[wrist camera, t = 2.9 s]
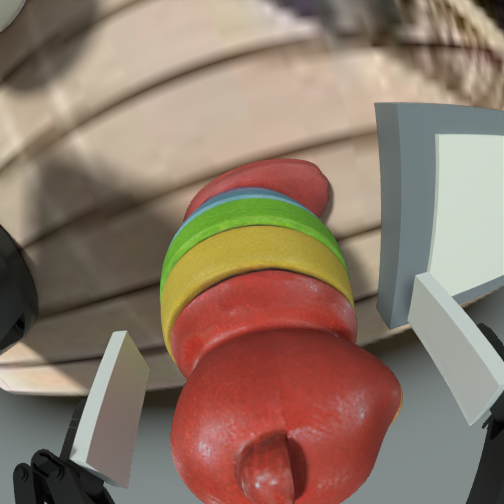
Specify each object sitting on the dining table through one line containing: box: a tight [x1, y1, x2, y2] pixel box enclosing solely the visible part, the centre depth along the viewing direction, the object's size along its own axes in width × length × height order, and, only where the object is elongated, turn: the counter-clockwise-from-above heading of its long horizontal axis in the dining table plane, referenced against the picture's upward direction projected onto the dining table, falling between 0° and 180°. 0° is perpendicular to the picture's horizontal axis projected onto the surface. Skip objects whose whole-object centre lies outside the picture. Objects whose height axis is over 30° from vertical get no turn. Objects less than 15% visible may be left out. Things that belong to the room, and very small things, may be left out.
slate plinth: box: [374, 102, 504, 330], centre depth 19 cm, size 20×18×3 cm
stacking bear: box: [160, 159, 403, 504], centre depth 13 cm, size 11×10×18 cm
